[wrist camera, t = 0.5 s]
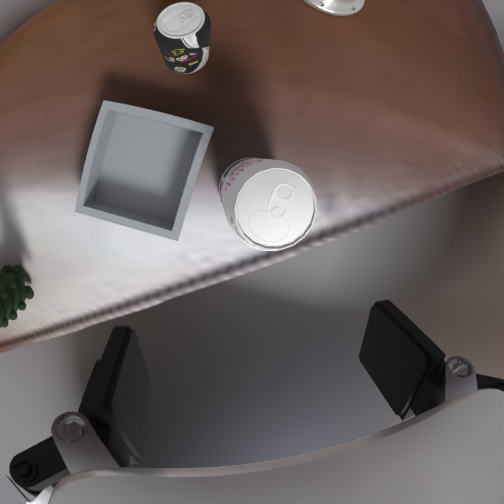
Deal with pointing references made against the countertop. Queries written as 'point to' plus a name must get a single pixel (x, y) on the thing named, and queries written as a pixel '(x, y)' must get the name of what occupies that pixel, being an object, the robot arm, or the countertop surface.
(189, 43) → the beverage can
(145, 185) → the tray
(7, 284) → the toy figurine
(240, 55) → the countertop surface
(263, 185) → the supplement can
